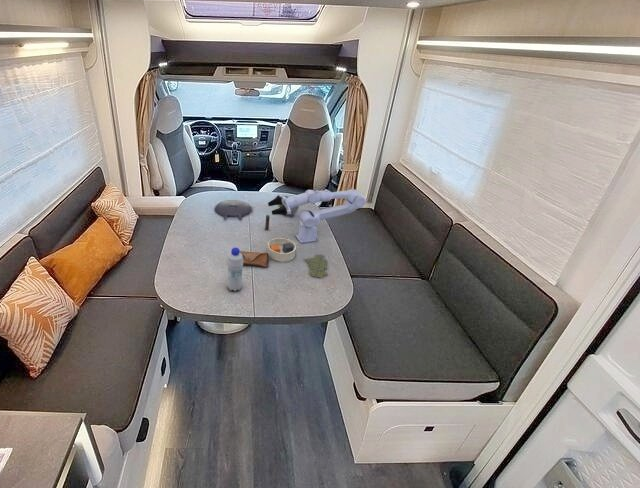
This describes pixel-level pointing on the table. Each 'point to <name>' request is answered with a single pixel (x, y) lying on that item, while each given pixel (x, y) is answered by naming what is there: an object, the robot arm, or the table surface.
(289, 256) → the bowl
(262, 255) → the sunglasses case
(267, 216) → the stick
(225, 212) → the toy spaceship
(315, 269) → the map
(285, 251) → the slate block
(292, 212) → the potted plant
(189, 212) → the table surface
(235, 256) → the bottle
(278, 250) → the orange block
